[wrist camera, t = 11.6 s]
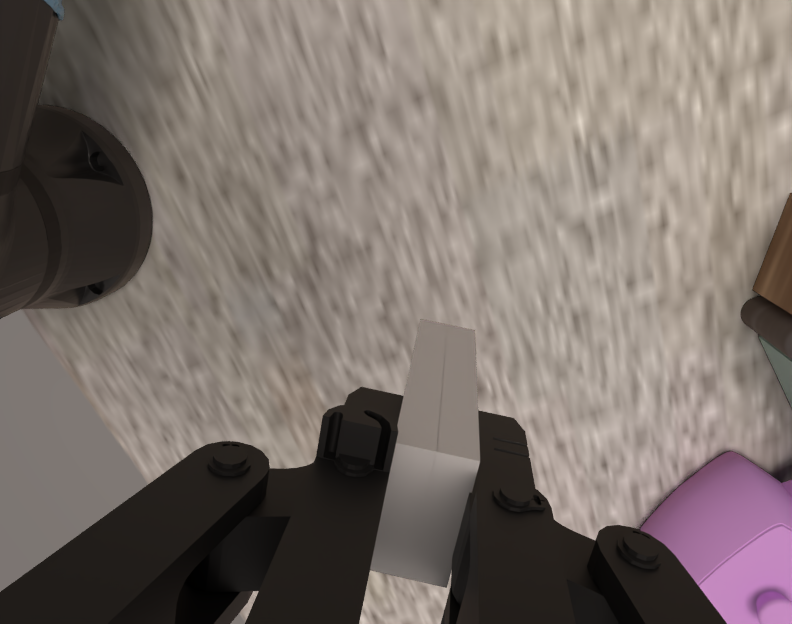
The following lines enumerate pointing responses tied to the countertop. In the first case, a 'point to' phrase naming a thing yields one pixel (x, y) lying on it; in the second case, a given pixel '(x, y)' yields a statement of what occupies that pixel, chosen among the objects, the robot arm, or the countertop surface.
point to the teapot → (733, 538)
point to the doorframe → (774, 289)
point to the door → (780, 367)
